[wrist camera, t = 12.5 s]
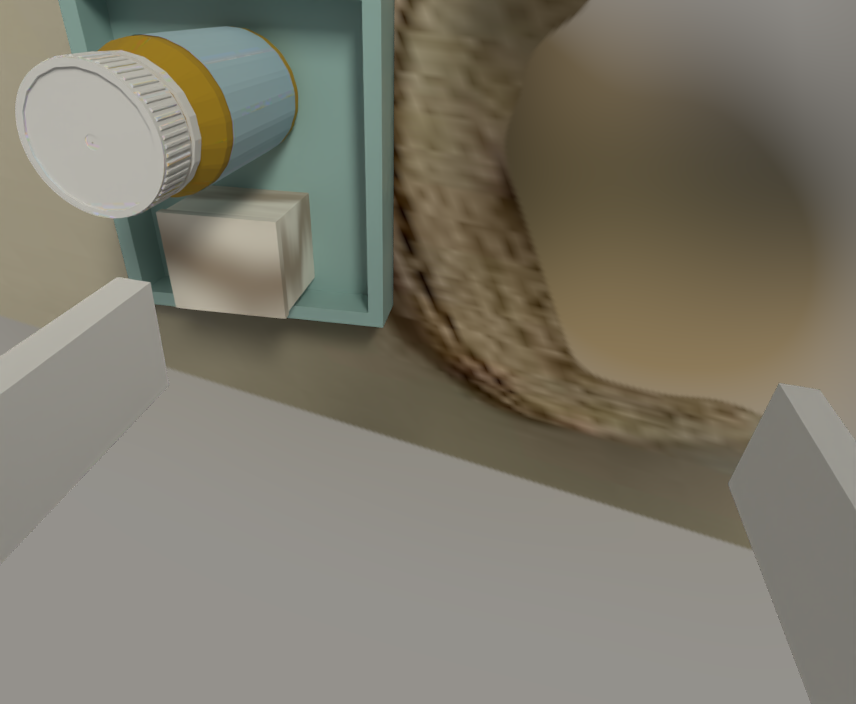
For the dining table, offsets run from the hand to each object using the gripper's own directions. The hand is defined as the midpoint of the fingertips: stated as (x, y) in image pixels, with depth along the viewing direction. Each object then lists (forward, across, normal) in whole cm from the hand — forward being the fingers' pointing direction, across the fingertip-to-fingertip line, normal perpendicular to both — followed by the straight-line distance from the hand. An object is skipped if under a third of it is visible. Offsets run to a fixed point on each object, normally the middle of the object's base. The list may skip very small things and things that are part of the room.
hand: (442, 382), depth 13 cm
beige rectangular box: (+26, -16, -8) cm, 31 cm away
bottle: (+26, -16, 0) cm, 31 cm away
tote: (+27, -16, -3) cm, 31 cm away
